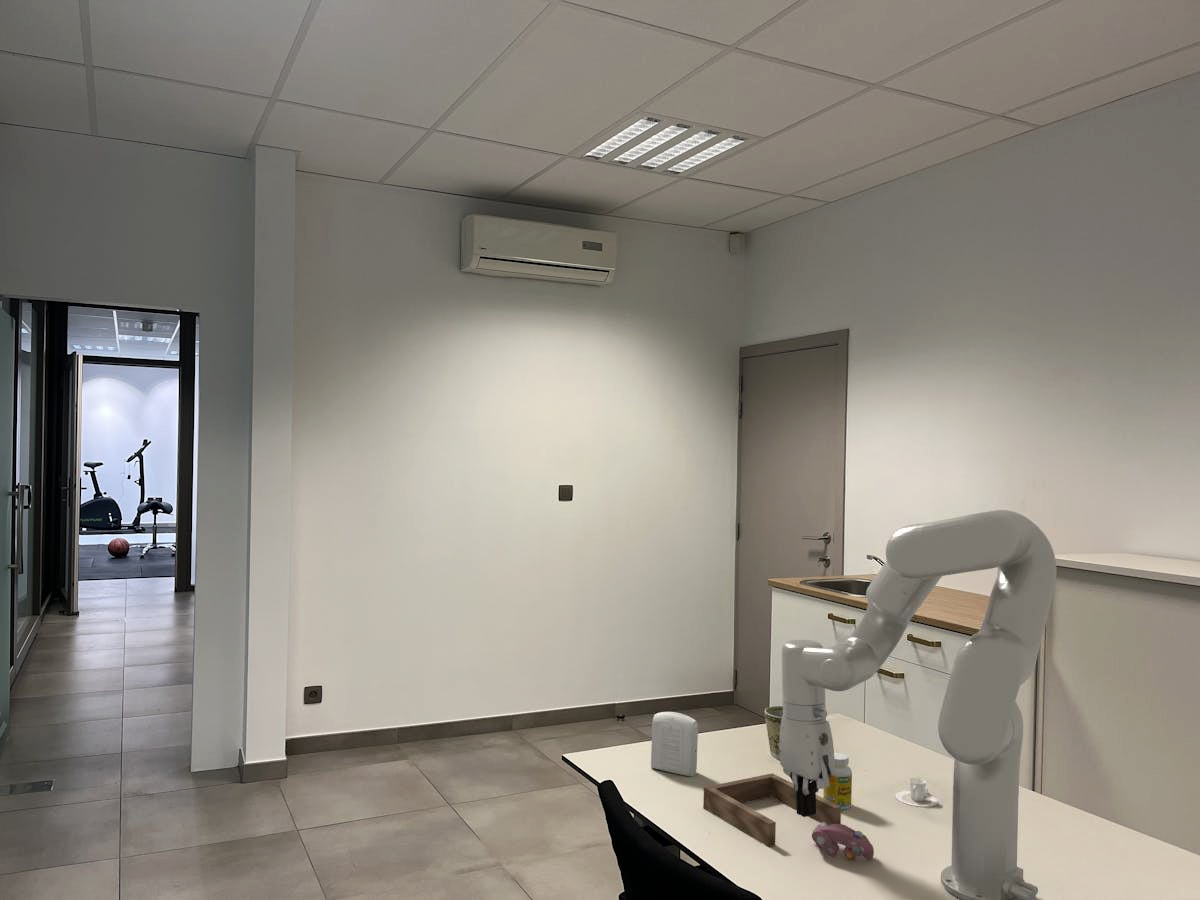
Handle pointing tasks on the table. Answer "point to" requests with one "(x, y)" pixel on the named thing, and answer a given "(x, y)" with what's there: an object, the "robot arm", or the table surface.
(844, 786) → the supplement bottle
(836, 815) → the frame
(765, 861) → the table surface
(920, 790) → the teacup and saucer
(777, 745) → the ceramic cup
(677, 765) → the photo printer
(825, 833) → the video game controller
